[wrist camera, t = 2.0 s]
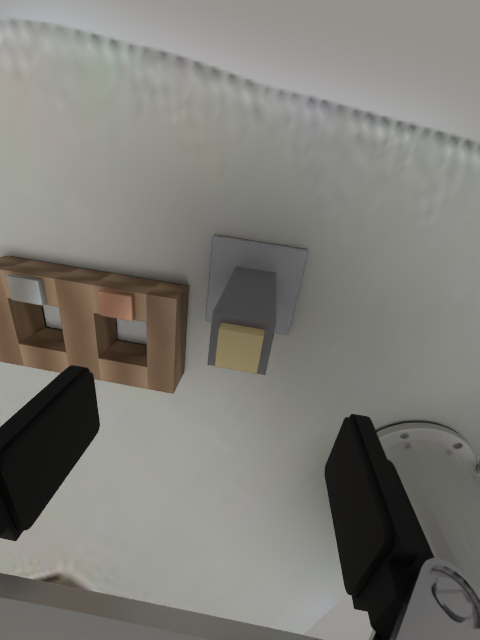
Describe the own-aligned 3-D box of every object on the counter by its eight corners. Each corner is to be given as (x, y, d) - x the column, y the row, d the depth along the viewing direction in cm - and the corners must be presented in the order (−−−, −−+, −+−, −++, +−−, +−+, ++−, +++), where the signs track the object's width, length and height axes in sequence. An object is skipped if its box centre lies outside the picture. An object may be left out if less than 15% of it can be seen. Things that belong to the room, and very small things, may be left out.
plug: (276, 272, 24) (276, 329, 14) (268, 309, 26) (264, 383, 16) (236, 266, 24) (209, 317, 15) (231, 303, 26) (204, 372, 16)
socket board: (188, 286, 26) (174, 301, 22) (183, 372, 31) (171, 397, 27) (6, 255, 27) (-36, 266, 23) (27, 344, 31) (-6, 364, 28)
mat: (307, 249, 24) (308, 250, 23) (288, 332, 27) (288, 335, 26) (214, 234, 24) (212, 235, 23) (206, 318, 27) (205, 320, 27)
